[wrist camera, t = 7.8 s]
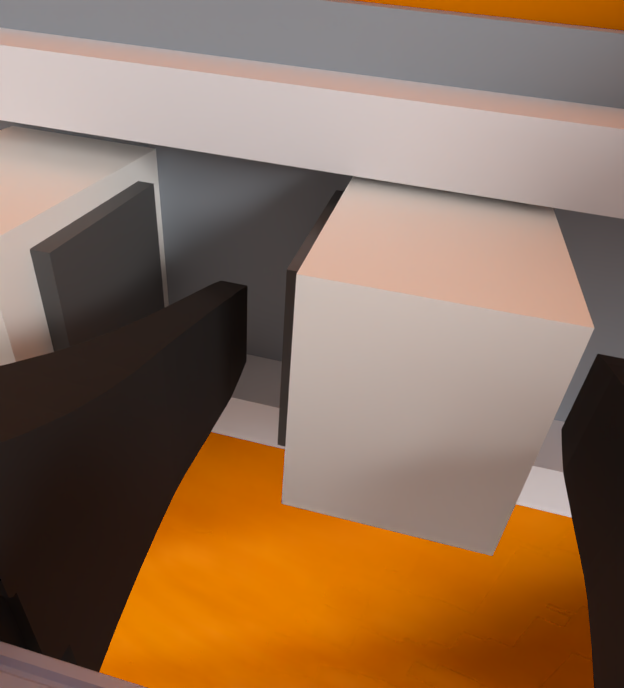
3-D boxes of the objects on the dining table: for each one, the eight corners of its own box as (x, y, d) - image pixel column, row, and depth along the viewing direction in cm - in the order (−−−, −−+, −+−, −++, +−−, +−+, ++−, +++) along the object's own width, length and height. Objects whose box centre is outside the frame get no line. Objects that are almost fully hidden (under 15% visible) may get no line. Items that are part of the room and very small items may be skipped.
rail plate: (822, 52, 10) (1237, 147, 5) (587, 476, 17) (643, 719, 12) (-12, -40, 13) (-381, -49, 7) (73, 360, 20) (-83, 513, 14)
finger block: (544, 183, 12) (594, 327, 7) (485, 365, 15) (492, 555, 10) (347, 155, 13) (269, 269, 8) (327, 334, 15) (262, 498, 11)
